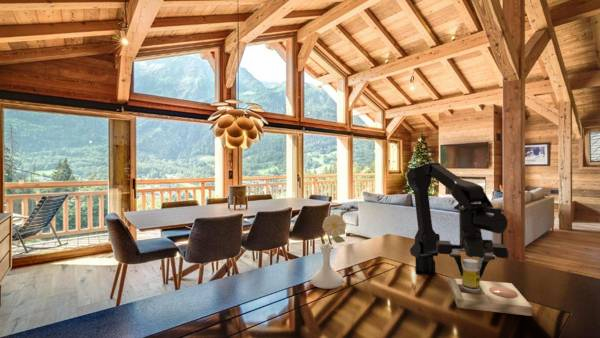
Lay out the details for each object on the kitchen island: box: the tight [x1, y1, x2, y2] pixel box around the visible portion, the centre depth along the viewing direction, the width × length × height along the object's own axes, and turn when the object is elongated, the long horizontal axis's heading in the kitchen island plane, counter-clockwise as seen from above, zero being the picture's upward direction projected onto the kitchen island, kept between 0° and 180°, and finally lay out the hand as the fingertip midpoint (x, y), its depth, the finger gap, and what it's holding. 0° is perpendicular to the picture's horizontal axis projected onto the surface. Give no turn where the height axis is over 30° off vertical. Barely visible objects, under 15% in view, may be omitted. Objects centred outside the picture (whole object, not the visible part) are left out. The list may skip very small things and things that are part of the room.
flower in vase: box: [310, 213, 347, 290], centre depth 104 cm, size 13×11×25 cm
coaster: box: [489, 287, 518, 298], centre depth 90 cm, size 7×7×1 cm
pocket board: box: [448, 277, 533, 317], centre depth 91 cm, size 18×16×2 cm
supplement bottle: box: [461, 258, 481, 291], centre depth 92 cm, size 5×5×8 cm
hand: (470, 276), depth 92 cm, fingers closed on supplement bottle, 5 cm apart
